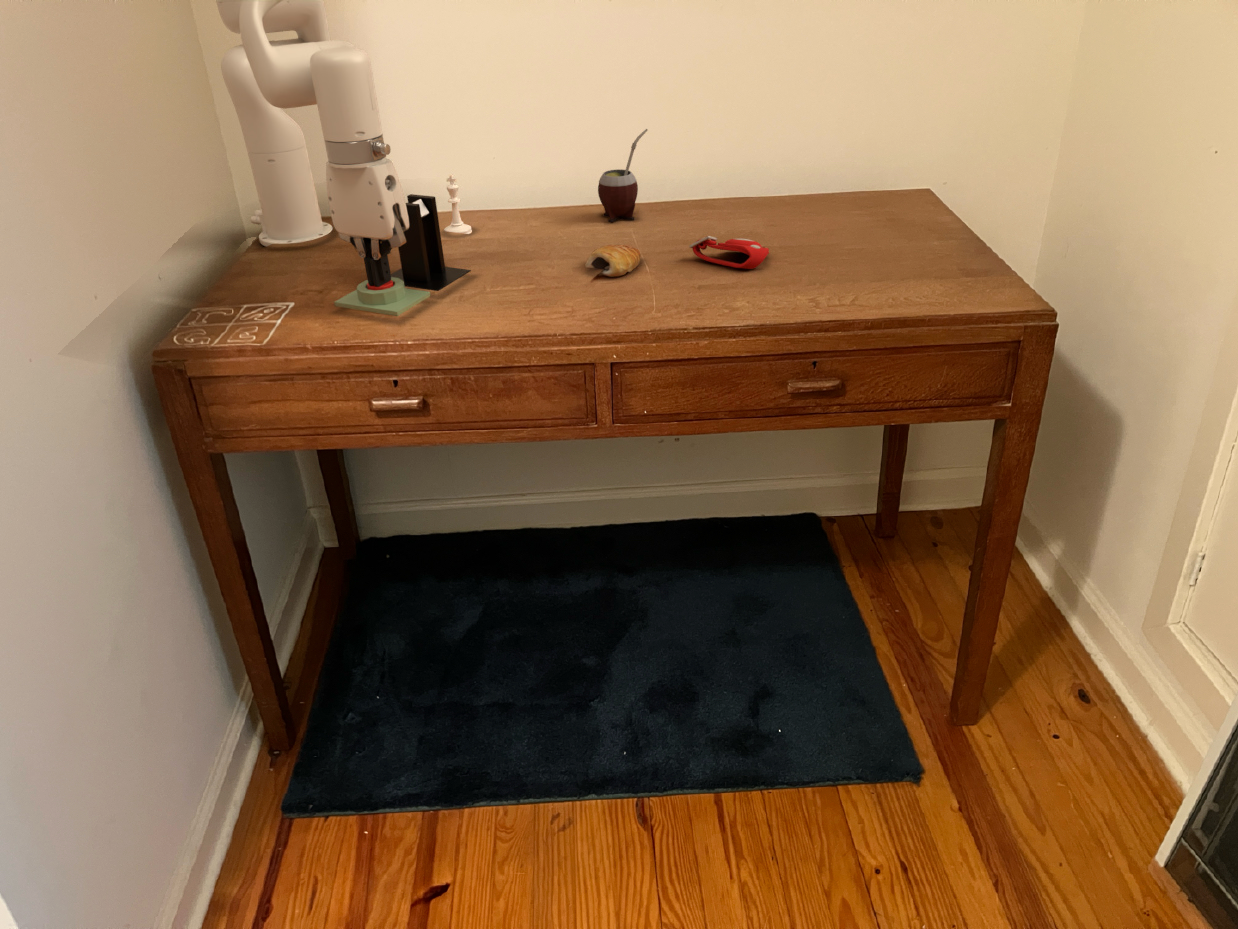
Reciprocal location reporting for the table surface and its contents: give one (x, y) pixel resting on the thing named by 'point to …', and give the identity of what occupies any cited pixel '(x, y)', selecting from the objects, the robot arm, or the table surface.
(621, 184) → the mate gourd
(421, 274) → the bracket
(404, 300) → the button box
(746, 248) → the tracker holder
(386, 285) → the button
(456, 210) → the chess piece
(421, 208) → the lever
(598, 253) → the pastry
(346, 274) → the table surface
